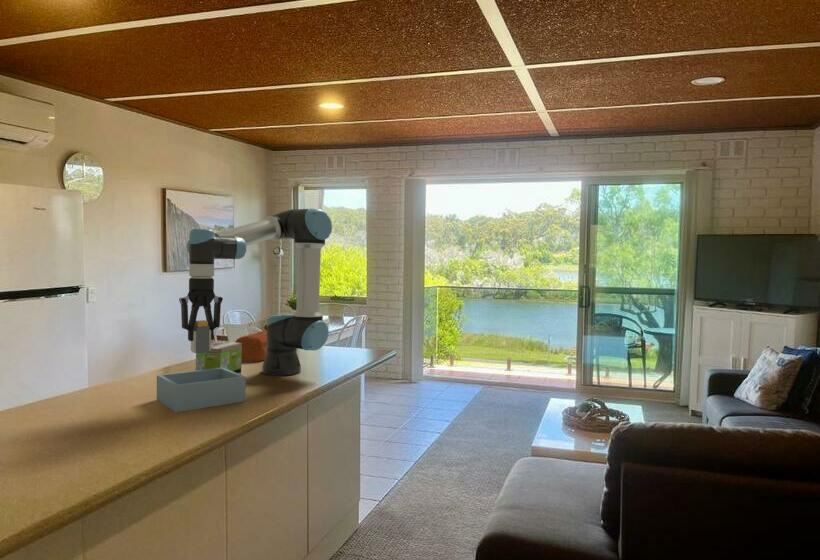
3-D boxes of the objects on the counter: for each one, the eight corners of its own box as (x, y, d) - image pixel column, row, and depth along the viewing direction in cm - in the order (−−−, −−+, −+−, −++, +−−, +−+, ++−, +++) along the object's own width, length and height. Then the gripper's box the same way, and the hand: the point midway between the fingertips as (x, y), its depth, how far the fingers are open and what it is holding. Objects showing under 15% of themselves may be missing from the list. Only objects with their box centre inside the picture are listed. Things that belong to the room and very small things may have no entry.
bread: (229, 360, 258) (229, 336, 258) (258, 350, 284) (258, 328, 284) (261, 363, 255) (262, 338, 254) (288, 352, 281) (288, 330, 280)
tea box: (220, 390, 204) (220, 348, 203) (194, 388, 206) (194, 346, 205) (242, 381, 219) (242, 341, 218) (217, 379, 221) (217, 340, 220)
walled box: (222, 390, 205) (223, 367, 204) (245, 401, 191) (245, 376, 190) (156, 399, 190) (156, 375, 190) (176, 412, 177) (176, 385, 176)
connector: (209, 352, 189) (209, 321, 189) (196, 353, 187) (197, 322, 186) (204, 350, 192) (204, 320, 192) (192, 351, 190) (192, 320, 189)
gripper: (222, 276, 197) (221, 346, 198) (170, 277, 186) (169, 350, 187) (232, 277, 191) (231, 349, 192) (178, 278, 180) (177, 354, 181)
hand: (200, 350), depth 190 cm, fingers closed on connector, 4 cm apart
